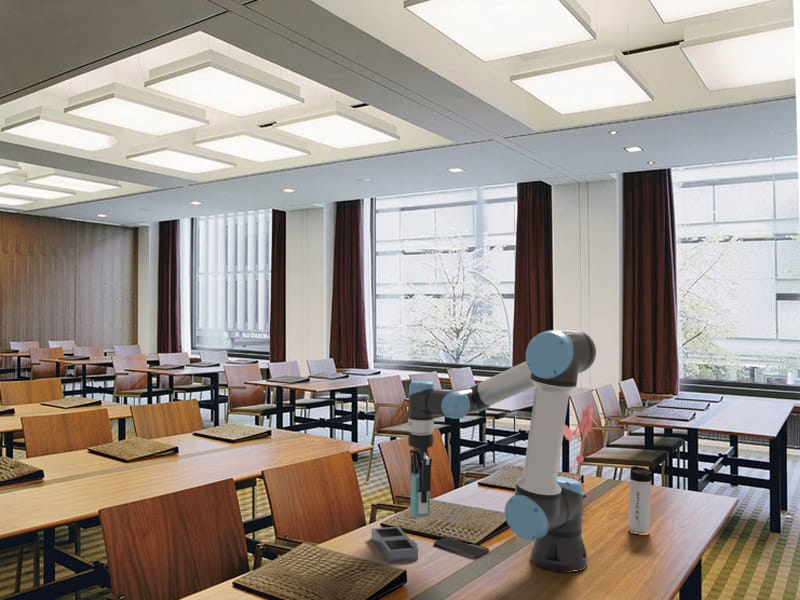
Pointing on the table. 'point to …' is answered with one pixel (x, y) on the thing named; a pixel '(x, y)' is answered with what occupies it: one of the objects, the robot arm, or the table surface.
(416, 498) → the square peg
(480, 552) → the phone
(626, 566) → the table surface
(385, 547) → the grey hollow block
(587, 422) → the pink flower branch
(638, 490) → the travel mug
